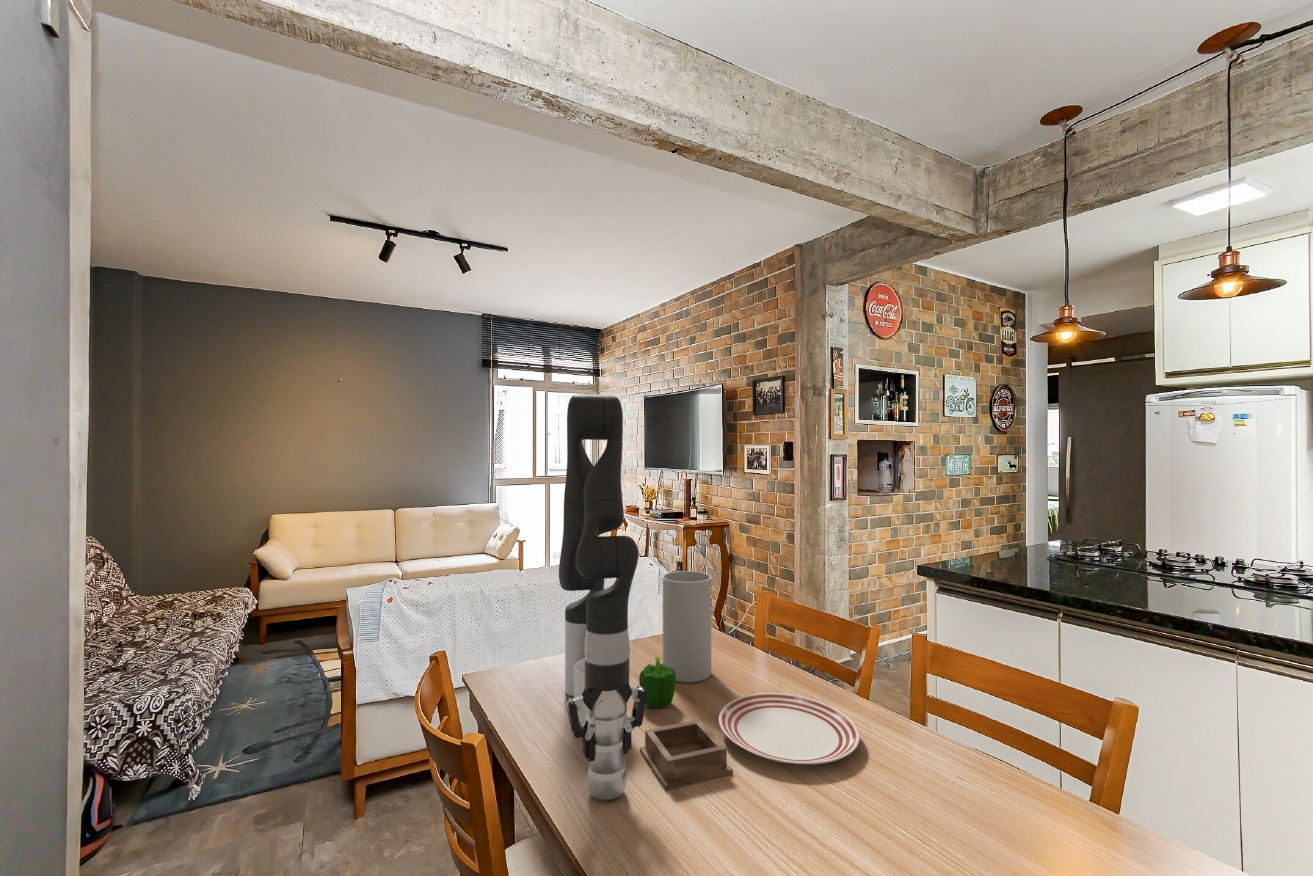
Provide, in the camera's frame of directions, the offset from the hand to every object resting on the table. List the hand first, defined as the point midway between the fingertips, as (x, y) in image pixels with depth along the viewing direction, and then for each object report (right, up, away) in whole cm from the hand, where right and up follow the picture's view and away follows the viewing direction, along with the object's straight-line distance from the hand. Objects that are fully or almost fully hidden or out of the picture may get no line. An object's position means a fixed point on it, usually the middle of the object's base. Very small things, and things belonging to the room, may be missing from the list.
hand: (607, 755), depth 95 cm
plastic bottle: (0, -7, 0) cm, 7 cm away
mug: (-3, -7, +21) cm, 23 cm away
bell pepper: (+9, -7, +33) cm, 35 cm away
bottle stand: (+14, -7, +9) cm, 18 cm away
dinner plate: (+35, -7, +19) cm, 40 cm away
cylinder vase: (+16, -7, +50) cm, 53 cm away
